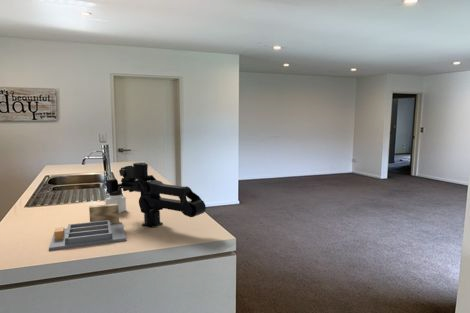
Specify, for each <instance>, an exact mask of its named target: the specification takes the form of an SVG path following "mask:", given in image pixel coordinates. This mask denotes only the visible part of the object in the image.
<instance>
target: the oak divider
mask: <svg viewBox="0 0 470 313" xmlns="http://www.w3.org/2000/svg"><path fill="white" fill-rule="evenodd" d="M88 211H89V222H97V221H106V220H110V224H112V223H120V220H119V219H120V216H119V215H120V213H119V210H118V204H107V205H106V204H99V205H98V204H94V205H89V207H88Z"/></svg>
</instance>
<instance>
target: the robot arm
mask: <svg viewBox="0 0 470 313" xmlns="http://www.w3.org/2000/svg"><path fill="white" fill-rule="evenodd" d="M148 164H149V163H146V162H133V163H132V165H126V166H123V167H120V169H119V171H118V172H119V176H120V177H122V178H121V179H120V182H121V183H119V181H118V179H117V178H110V179H107V180H106V182H104V186H105V187H106V193H107V194H108V195H109V194H113V193H117V192H118V189H122V192H127V191H128V193H133V192H135V193H136V192H137V193H140V197H139V198H138V206H139V209H140V212H141V213H143V216H144V217H143V221H144V223H142V224H141V225H142V226H143V227H144V226H145V227H148V228H155V227H157V226H160V225H163V222H161V212H160V211H162V210H163V209H165V210H171V211H176V212H180V213H182V214H183V215H184V216H186V217H189V218H194V217H196V216H197V217H198V216H199V215H202V214H204V213H205V212H206V209H207V206H206V203H205V202H204V200H202V198H201V197H200V196H199V195H198V194H197V193H195V192H194V191H193V190H192V188H190V187H189V186H187V185H186V186H181V185H174V184H166V183H163V182H162V180H158V179H156V178H155V177H154V175H153V174H150V175H148V173H149V172H148V167H149V166H148ZM161 195H167V196H171V197H172V196H173V197H178V198H179V199H173V198H166V197H162V196H161ZM187 199H188V200H187Z"/></svg>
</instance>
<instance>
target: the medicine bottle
mask: <svg viewBox="0 0 470 313" xmlns="http://www.w3.org/2000/svg"><path fill="white" fill-rule="evenodd" d="M122 192H123V188H122V189H118V192H117V193H113V194H108V195H109V196H108V197H107V198H105V199H104V200H105V205H107V204H118V210H119V214H121V213H122V212H125V211H127V201H126V200H127V199H126V198H127V197H126V196H123V193H122Z"/></svg>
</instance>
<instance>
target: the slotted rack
mask: <svg viewBox="0 0 470 313" xmlns="http://www.w3.org/2000/svg"><path fill="white" fill-rule="evenodd" d="M124 229H125V228H124V224H123V222H121V221H120V222H116V223H110V220H106V221H97V222H90V221H88V222H81V223H80V222H78V223H69V224H68V225H67V227H66V228H65V227H62V226H61V227H55V229H54V231H53V236H52V238H51V241H50V243H49V246H48V251H56V250H58V251H59V250H64V249H71V248H72V249H73V248H80V247H87V246H95V245H102V244H110V243H117V242H118V243H119V242H126V241H127V236H126V232H125V230H124Z"/></svg>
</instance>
